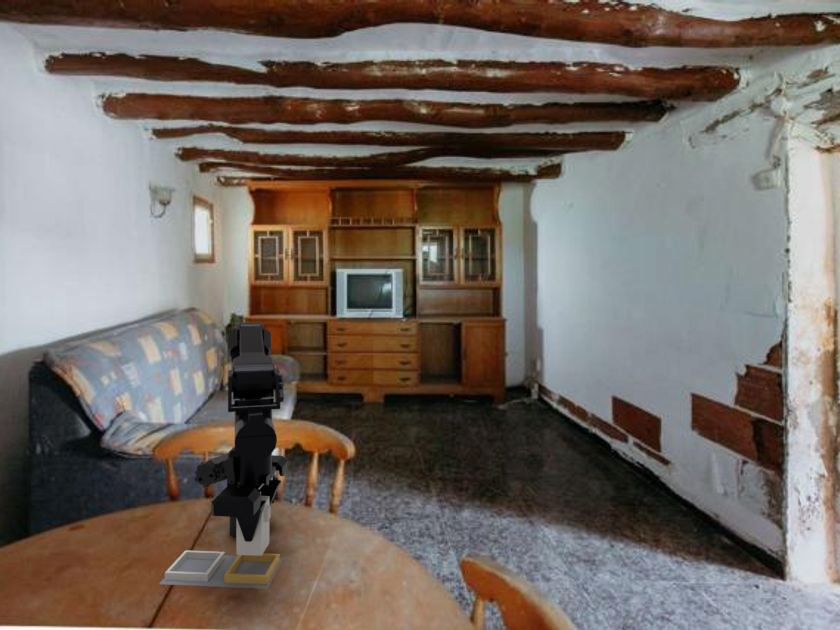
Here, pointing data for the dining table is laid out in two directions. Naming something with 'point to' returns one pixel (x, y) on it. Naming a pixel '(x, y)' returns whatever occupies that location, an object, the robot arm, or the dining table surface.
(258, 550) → the plug
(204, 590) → the dining table surface
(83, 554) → the dining table surface
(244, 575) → the socket panel
